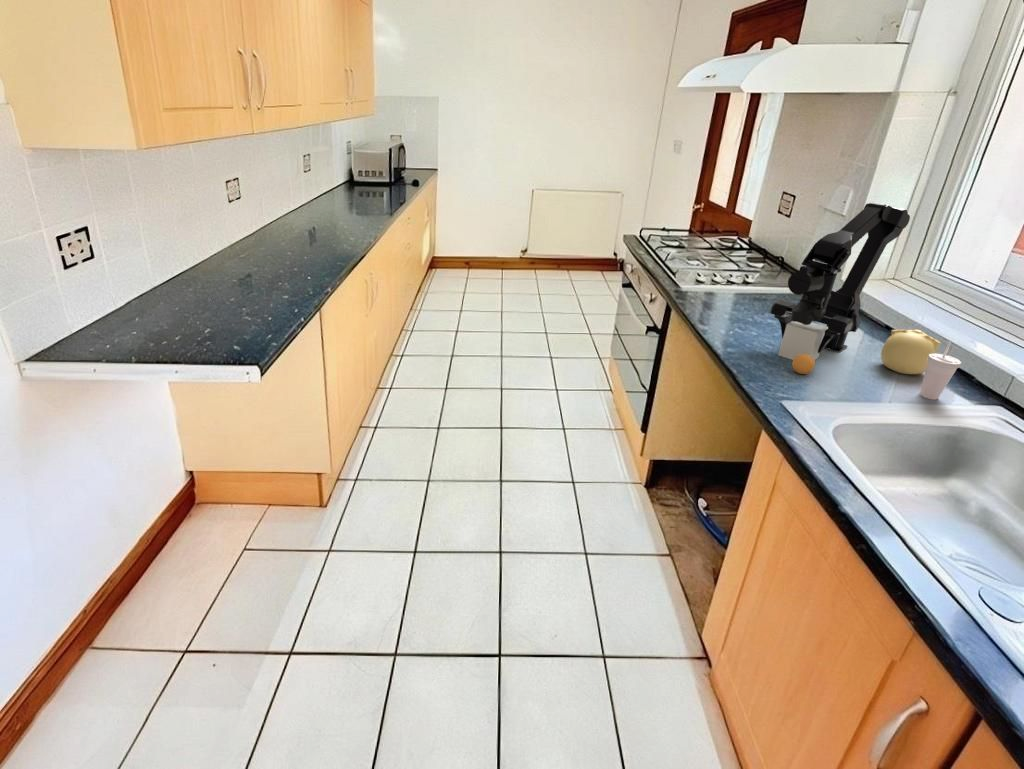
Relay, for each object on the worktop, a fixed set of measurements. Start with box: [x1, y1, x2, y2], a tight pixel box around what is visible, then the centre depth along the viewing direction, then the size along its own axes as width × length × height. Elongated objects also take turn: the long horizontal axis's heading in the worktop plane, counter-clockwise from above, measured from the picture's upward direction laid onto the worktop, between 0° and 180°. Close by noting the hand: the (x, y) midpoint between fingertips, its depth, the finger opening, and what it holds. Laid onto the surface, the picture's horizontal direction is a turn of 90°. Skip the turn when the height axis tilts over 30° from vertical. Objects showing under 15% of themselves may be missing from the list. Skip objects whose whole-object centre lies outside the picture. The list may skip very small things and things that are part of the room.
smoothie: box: [919, 339, 962, 400], centre depth 132 cm, size 6×6×14 cm
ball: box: [791, 354, 816, 375], centre depth 141 cm, size 5×5×5 cm
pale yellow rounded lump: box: [880, 329, 942, 375], centre depth 147 cm, size 12×12×11 cm
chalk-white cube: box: [777, 321, 828, 361], centre depth 151 cm, size 8×8×9 cm
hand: (801, 347), depth 152 cm, fingers open, 9 cm apart
